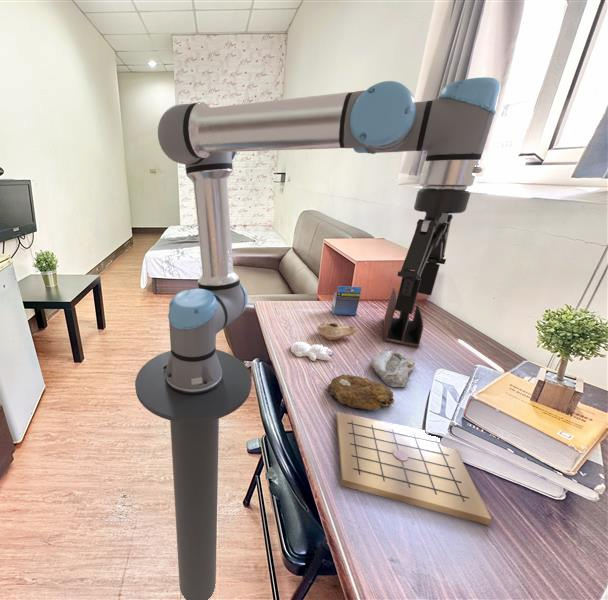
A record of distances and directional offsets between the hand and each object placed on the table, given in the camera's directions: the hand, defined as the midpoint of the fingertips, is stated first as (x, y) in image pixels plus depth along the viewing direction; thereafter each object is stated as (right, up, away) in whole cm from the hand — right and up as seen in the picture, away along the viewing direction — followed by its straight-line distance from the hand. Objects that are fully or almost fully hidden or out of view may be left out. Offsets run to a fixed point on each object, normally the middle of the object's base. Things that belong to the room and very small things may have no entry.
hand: (414, 302), depth 61 cm
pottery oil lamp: (+3, -13, +45) cm, 47 cm away
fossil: (+13, -20, +28) cm, 37 cm away
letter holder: (+28, -11, +49) cm, 58 cm away
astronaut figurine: (-8, -17, +36) cm, 41 cm away
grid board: (-4, -31, -1) cm, 32 cm away
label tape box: (+14, -5, +64) cm, 66 cm away
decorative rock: (-3, -24, +17) cm, 30 cm away
